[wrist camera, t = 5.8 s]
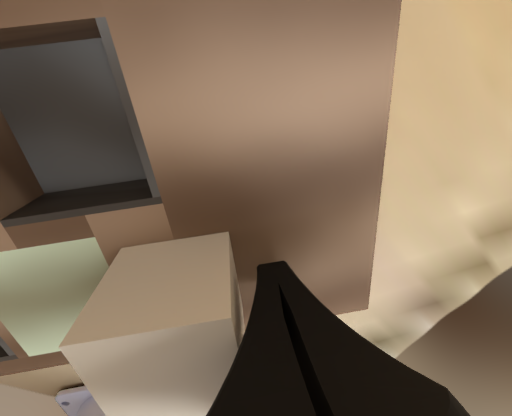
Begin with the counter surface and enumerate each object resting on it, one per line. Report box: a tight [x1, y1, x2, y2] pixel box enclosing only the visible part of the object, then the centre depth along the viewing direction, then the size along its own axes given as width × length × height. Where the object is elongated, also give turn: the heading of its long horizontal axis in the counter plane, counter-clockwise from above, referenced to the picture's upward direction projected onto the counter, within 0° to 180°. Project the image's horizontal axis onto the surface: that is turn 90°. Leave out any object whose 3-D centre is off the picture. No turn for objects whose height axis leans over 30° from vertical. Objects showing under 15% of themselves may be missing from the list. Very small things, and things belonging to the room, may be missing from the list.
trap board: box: [0, 0, 402, 376], centre depth 11 cm, size 15×24×3 cm, turn 97°
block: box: [59, 232, 245, 416], centre depth 10 cm, size 4×4×4 cm
